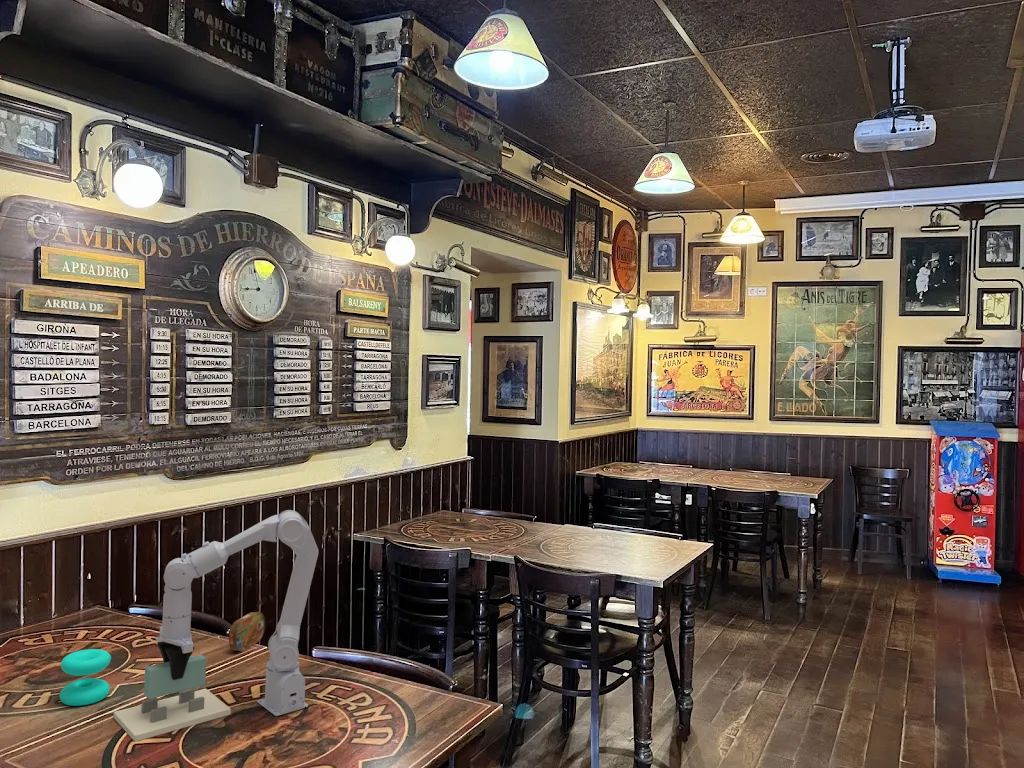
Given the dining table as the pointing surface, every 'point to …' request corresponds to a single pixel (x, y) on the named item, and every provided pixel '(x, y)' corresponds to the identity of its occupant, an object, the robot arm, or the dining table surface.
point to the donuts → (89, 687)
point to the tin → (246, 631)
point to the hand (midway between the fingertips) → (174, 676)
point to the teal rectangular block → (162, 683)
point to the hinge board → (170, 713)
